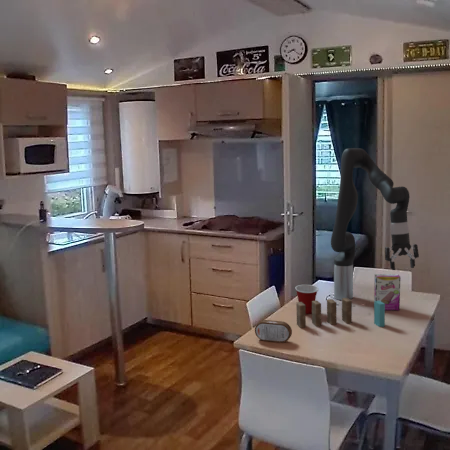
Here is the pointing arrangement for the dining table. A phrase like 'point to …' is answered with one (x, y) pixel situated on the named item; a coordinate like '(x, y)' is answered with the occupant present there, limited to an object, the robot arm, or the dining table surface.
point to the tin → (273, 331)
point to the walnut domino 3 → (331, 312)
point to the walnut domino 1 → (301, 314)
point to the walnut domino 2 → (316, 313)
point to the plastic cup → (306, 295)
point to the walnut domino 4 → (346, 310)
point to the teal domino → (379, 313)
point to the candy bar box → (387, 290)
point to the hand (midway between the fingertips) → (402, 268)
